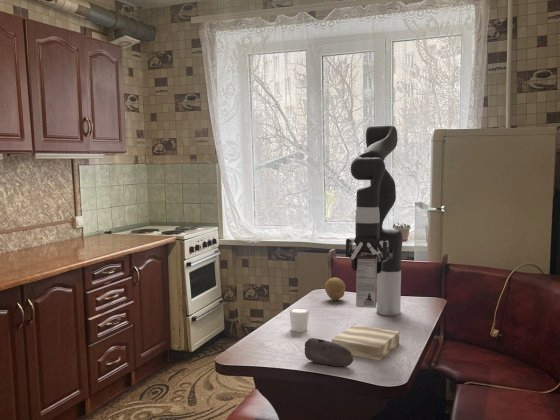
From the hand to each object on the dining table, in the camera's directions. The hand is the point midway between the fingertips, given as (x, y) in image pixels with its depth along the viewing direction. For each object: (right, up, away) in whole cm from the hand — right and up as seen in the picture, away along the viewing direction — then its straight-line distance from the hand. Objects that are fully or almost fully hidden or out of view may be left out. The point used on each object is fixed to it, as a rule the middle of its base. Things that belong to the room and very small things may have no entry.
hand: (366, 271), depth 177 cm
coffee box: (0, -11, +1) cm, 11 cm away
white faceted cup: (-21, -23, +22) cm, 38 cm away
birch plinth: (0, -25, +2) cm, 25 cm away
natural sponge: (-4, -20, +64) cm, 67 cm away
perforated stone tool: (-13, -26, -13) cm, 32 cm away
